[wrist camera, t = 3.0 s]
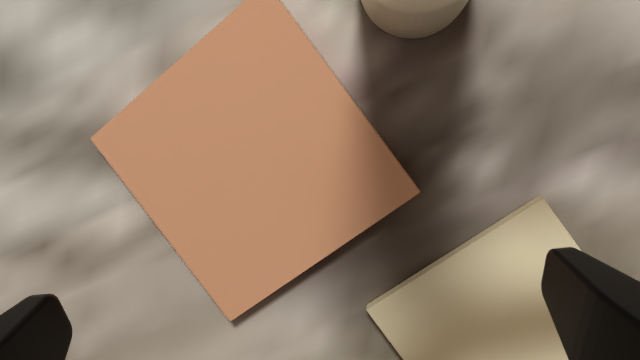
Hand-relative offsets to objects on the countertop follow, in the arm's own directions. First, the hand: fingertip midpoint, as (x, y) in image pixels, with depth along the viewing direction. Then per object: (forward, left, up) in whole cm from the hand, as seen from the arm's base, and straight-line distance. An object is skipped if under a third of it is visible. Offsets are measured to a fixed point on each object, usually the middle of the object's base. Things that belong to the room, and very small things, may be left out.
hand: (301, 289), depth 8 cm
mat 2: (-9, +4, -13) cm, 16 cm away
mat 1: (+5, +1, -12) cm, 14 cm away
